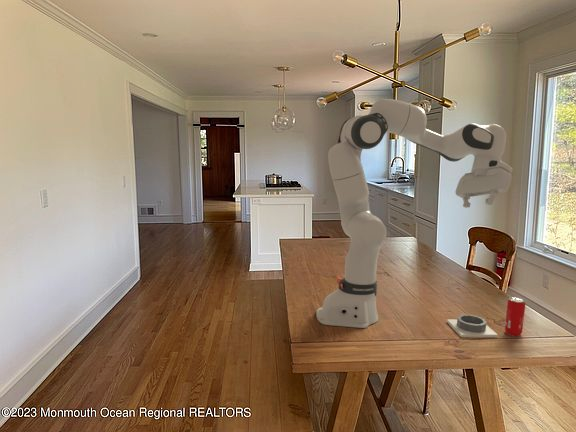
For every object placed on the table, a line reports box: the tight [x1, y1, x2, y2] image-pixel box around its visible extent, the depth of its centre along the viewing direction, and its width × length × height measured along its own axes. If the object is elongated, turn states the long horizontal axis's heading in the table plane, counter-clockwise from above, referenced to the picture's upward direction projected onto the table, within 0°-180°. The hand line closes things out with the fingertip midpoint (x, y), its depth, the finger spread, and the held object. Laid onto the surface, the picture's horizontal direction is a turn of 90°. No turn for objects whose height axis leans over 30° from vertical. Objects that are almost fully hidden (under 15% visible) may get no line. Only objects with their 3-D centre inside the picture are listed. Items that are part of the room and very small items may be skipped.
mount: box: [446, 314, 498, 338], centre depth 144 cm, size 12×12×4 cm
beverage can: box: [504, 296, 526, 337], centre depth 141 cm, size 5×5×12 cm
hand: (477, 205), depth 144 cm, fingers open, 8 cm apart
